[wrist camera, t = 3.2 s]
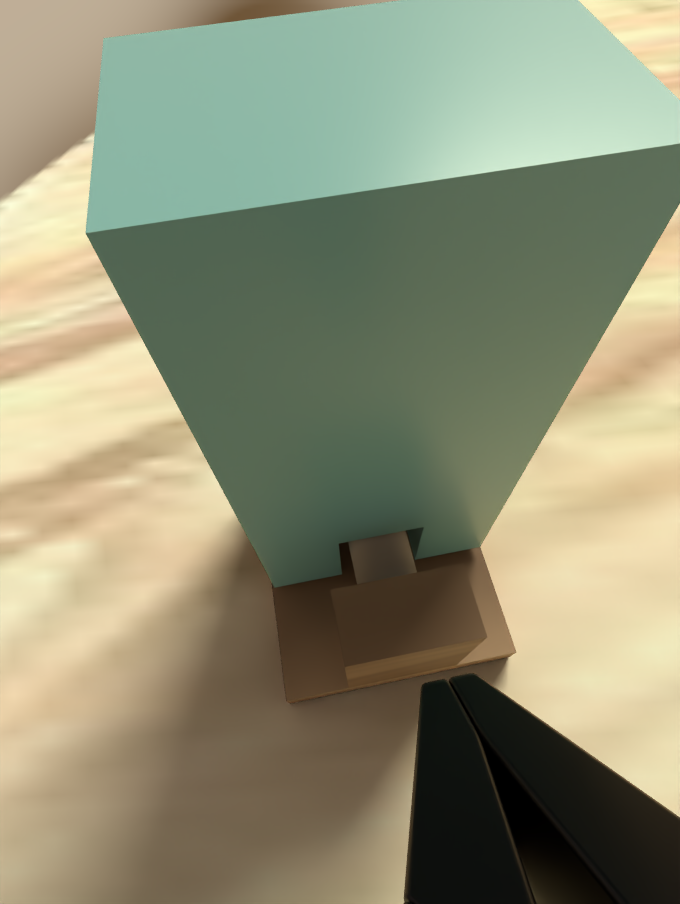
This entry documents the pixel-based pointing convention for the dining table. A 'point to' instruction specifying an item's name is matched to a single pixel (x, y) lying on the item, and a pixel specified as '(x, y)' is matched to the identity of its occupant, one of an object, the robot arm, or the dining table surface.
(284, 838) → the dining table surface
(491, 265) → the notched teal tower
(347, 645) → the wooden stand
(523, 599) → the dining table surface
